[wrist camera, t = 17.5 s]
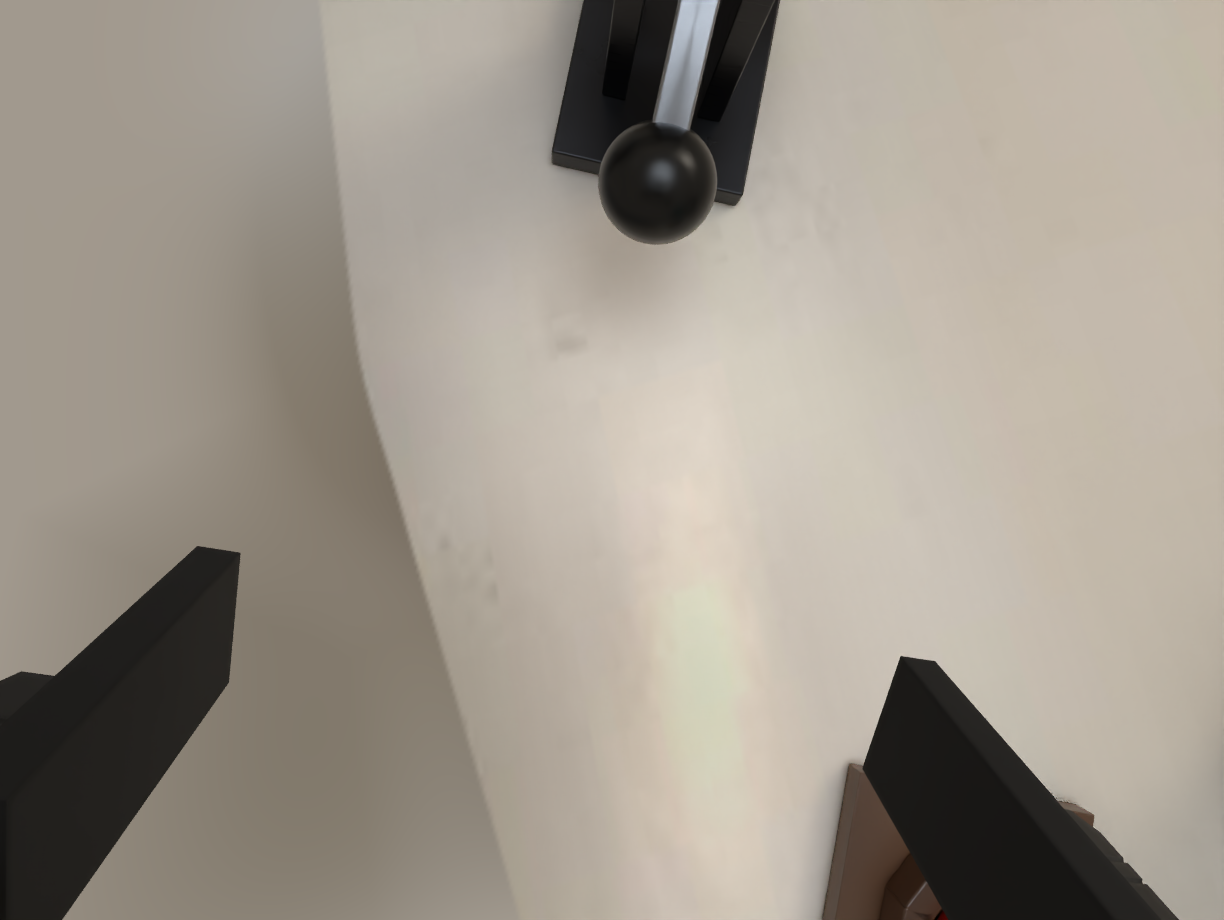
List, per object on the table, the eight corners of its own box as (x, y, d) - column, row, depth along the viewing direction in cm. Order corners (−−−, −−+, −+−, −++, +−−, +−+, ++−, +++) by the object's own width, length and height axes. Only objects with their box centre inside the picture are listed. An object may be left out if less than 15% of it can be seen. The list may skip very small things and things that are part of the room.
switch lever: (695, 244, 27) (704, 266, 24) (590, 221, 27) (584, 239, 23) (820, -248, 21) (854, -310, 18) (689, -284, 21) (700, -353, 18)
